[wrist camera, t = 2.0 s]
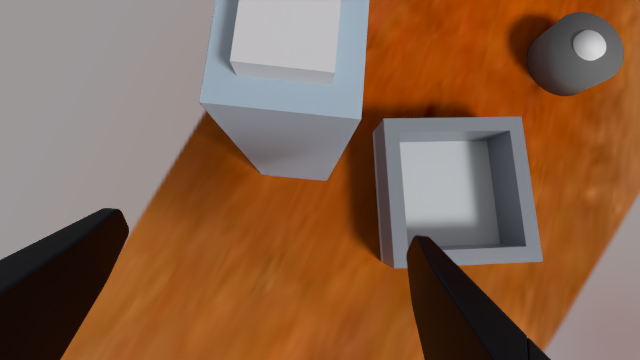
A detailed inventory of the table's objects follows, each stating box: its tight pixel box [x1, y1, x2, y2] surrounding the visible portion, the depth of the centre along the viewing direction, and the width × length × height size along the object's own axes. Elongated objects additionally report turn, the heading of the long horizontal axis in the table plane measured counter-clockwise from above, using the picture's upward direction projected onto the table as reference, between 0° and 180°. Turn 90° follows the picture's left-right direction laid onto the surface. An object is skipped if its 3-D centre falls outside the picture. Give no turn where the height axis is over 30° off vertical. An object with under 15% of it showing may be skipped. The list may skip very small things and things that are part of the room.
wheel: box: [527, 12, 624, 96], centre depth 23 cm, size 6×6×3 cm
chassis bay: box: [373, 117, 543, 268], centre depth 20 cm, size 10×10×3 cm
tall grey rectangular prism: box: [199, 0, 369, 181], centre depth 15 cm, size 5×5×14 cm
